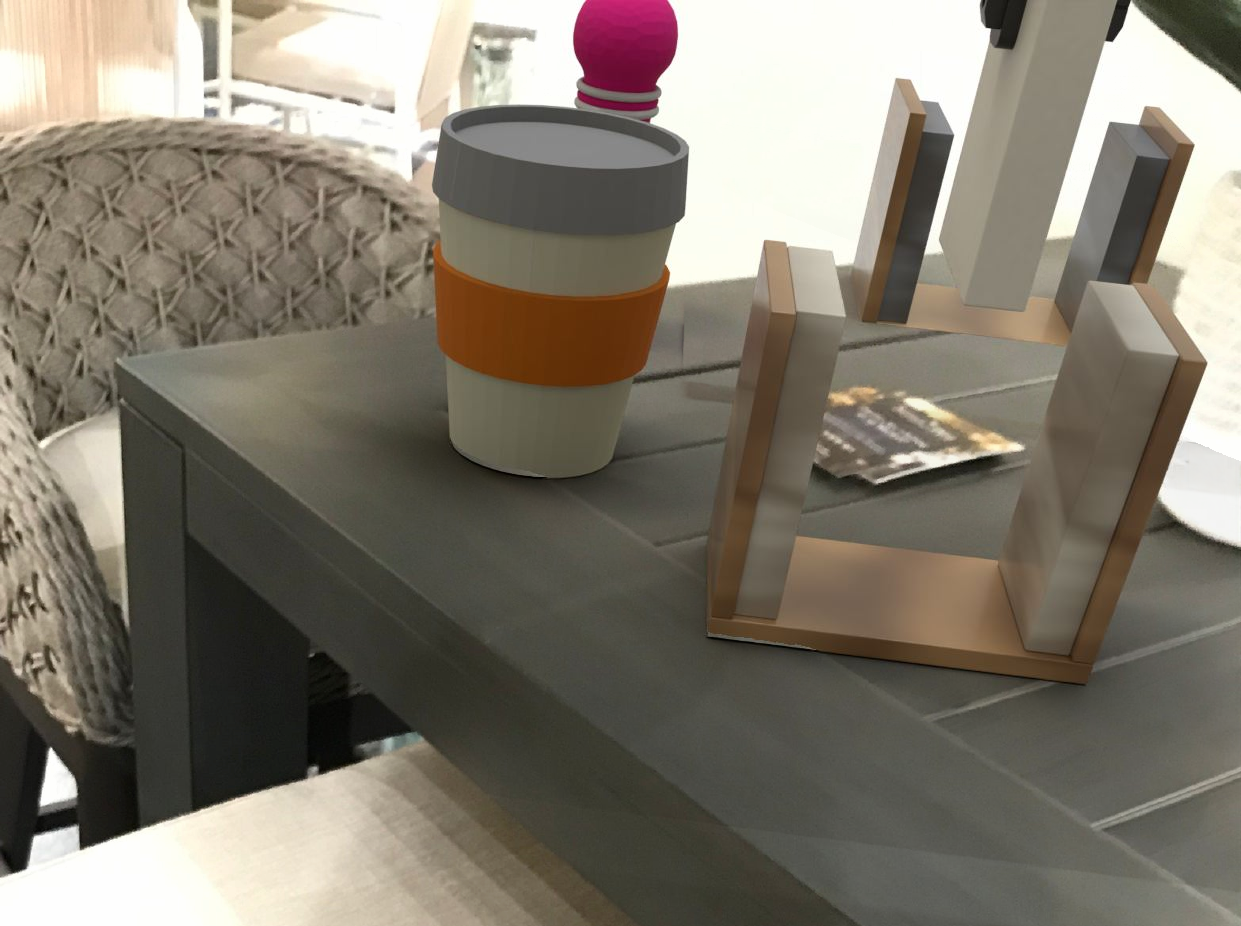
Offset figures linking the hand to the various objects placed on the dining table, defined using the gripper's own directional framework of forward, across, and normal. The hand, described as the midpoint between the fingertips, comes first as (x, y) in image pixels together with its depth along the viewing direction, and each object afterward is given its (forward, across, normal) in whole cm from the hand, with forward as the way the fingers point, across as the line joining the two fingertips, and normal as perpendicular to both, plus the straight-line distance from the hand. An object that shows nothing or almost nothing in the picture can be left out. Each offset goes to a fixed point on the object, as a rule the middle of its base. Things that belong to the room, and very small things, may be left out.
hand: (1042, 47), depth 61 cm
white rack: (+23, 0, 0) cm, 23 cm away
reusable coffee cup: (+23, -18, +15) cm, 33 cm away
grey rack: (+23, +10, +45) cm, 51 cm away
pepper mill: (+23, -16, +36) cm, 45 cm away
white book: (+8, 0, 0) cm, 8 cm away
